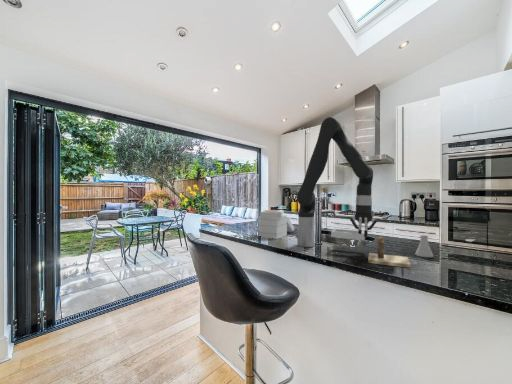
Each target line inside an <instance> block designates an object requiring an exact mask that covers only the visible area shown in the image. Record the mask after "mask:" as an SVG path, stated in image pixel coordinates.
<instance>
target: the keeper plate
mask: <svg viewBox="0 0 512 384" xmlns="http://www.w3.org/2000/svg"><path fill="white" fill-rule="evenodd" d="M376 239H377V240H376V241H377V253H373V252H372V253H371V252H369V253H368V260H367V261H368V262H367V263H368V264H374V265H375V264H376V265H381V266H383V265H385V266H390V267H391V266H392V267H400V268H407V269H410V268H411V263H410V260H409V257H408V256H401V255H391V254H385V239H384V237H383V236H379V237H377V238H376Z"/></svg>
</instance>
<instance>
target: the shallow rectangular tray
mask: <svg viewBox="0 0 512 384" xmlns="http://www.w3.org/2000/svg"><path fill="white" fill-rule="evenodd" d="M364 231H365V230H362V233H361V234H359V230H358V229H357V230H354V229H343V228H342V229H341V228H333V229H332V230H331V231H330V237H331V238H338V239H345V240H346V239H347V240H348V239H349V240H357V241H365V239H366V238H364Z"/></svg>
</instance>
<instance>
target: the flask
mask: <svg viewBox="0 0 512 384" xmlns="http://www.w3.org/2000/svg"><path fill="white" fill-rule="evenodd" d="M419 237H420V242H419V245H418V247H417V249H416V251H415V253H414V255H416V256H418V257H421V258H434V253H433V252H432V249H431V247H430V244H429V241H428V240H429V239H428V238H429V236H428V235H426V234H425V235H423V234H421V235H419Z"/></svg>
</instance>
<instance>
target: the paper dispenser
mask: <svg viewBox="0 0 512 384" xmlns="http://www.w3.org/2000/svg"><path fill="white" fill-rule="evenodd" d="M257 217H258V219H257V220H258V237H259V236H261V237H260V238H264V237H267V238H266V239H272V238H273V239H274V240H278V238H279V239H281V238H284V237H287V236H288V231H289V232H294V231H295V226H294V225H293V223H292V221H291V219H290V218H289V217H288V216H287V214H285V210H284V209H278V210H277V209H263V210H261V211H259V215H258V216H257ZM283 236H284V237H283ZM273 239H272V240H273Z"/></svg>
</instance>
